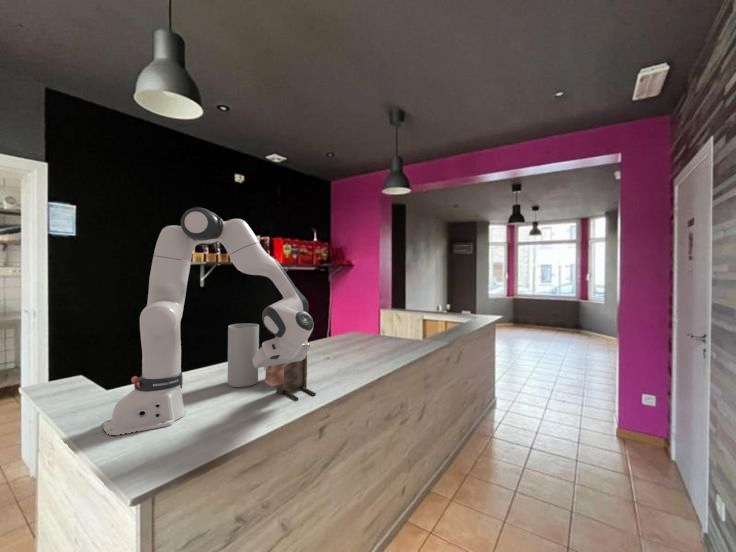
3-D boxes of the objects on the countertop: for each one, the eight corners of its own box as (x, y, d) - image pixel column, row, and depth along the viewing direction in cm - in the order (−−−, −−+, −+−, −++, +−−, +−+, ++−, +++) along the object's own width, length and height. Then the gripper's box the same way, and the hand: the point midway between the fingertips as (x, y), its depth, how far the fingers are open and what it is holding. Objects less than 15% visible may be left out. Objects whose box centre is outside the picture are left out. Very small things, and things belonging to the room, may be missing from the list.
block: (271, 386, 127) (272, 359, 127) (265, 382, 131) (266, 356, 131) (283, 383, 130) (284, 357, 130) (277, 380, 134) (278, 354, 134)
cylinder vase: (262, 378, 155) (262, 323, 155) (252, 388, 143) (253, 328, 142) (234, 378, 155) (235, 323, 155) (222, 387, 143) (223, 327, 142)
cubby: (292, 401, 129) (293, 354, 129) (276, 392, 139) (277, 347, 138) (319, 394, 137) (320, 349, 137) (302, 385, 147) (302, 344, 147)
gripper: (309, 336, 132) (295, 356, 140) (258, 342, 119) (246, 364, 126) (315, 350, 129) (300, 370, 136) (263, 357, 115) (250, 379, 123)
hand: (274, 367), depth 131 cm, fingers closed on block, 5 cm apart
